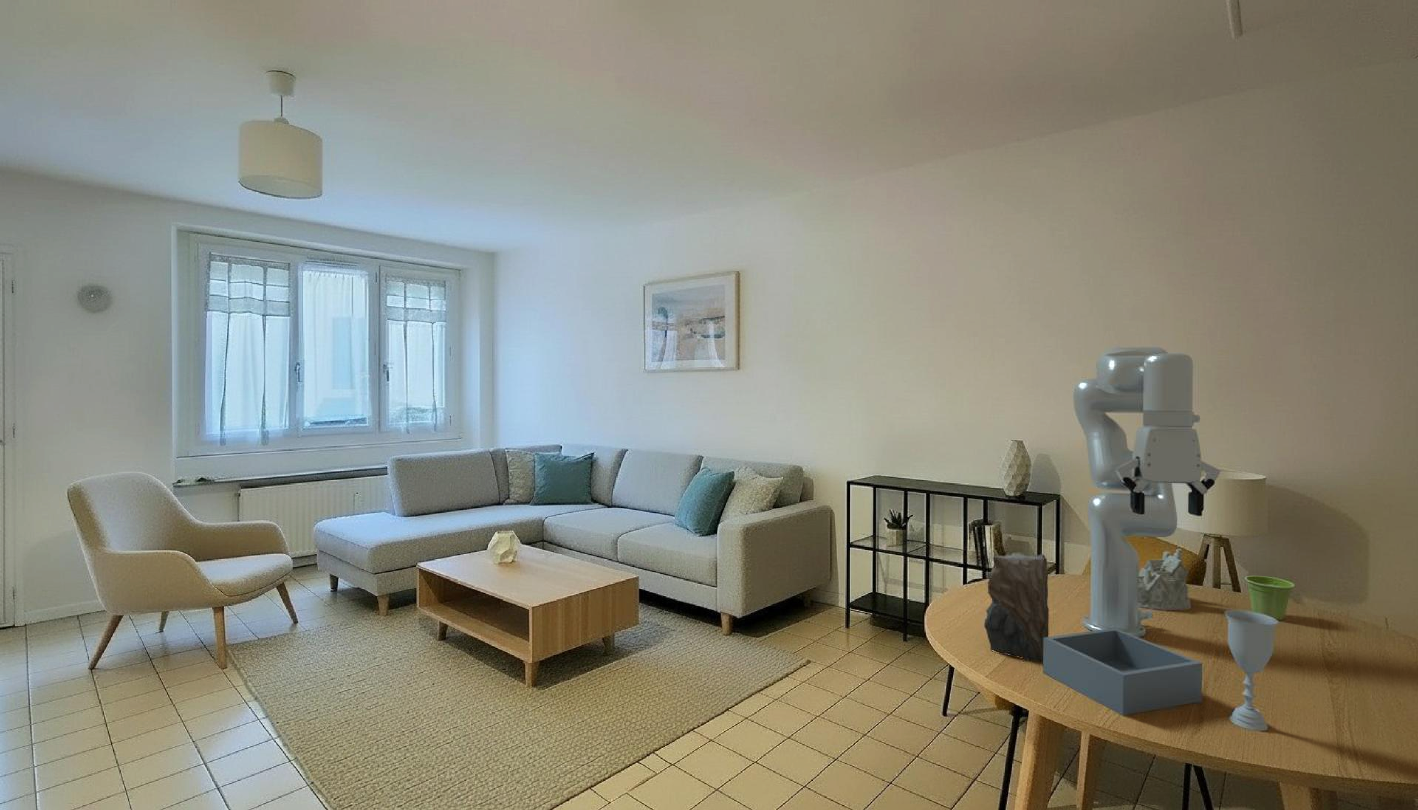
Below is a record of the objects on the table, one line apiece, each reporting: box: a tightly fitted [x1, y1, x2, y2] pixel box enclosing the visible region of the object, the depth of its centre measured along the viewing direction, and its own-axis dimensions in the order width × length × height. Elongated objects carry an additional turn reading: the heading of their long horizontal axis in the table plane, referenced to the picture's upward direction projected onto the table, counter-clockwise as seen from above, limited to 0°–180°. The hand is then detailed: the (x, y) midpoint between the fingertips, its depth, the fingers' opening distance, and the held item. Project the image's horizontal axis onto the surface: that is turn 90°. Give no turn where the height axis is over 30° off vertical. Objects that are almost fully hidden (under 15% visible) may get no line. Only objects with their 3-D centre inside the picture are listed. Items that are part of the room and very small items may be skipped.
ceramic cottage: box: [1138, 548, 1192, 611], centre depth 177 cm, size 16×16×15 cm
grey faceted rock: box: [983, 551, 1050, 663], centre depth 145 cm, size 13×13×20 cm
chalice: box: [1224, 609, 1279, 732], centre depth 113 cm, size 7×7×18 cm
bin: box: [1042, 628, 1203, 716], centre depth 127 cm, size 18×18×7 cm
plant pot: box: [1244, 575, 1295, 621], centre depth 165 cm, size 9×9×9 cm
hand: (1166, 514), depth 124 cm, fingers open, 9 cm apart
